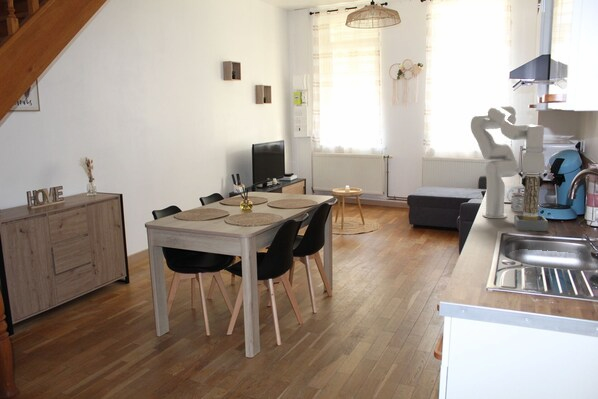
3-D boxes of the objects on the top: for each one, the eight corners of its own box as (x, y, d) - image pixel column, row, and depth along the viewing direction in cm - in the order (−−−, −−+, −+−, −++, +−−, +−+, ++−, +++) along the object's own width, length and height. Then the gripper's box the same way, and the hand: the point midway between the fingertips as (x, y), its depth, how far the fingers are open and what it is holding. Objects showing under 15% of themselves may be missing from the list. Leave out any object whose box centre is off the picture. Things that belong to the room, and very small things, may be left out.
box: (513, 224, 257) (514, 214, 256) (542, 225, 253) (543, 215, 252) (517, 230, 244) (517, 220, 244) (547, 231, 240) (547, 221, 239)
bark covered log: (538, 225, 245) (542, 175, 240) (524, 224, 246) (527, 175, 242) (535, 222, 251) (538, 173, 247) (521, 221, 252) (523, 173, 248)
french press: (530, 211, 290) (532, 168, 285) (510, 211, 290) (512, 169, 286) (522, 208, 299) (524, 167, 295) (503, 208, 300) (505, 167, 295)
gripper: (552, 149, 243) (549, 185, 246) (514, 149, 248) (512, 184, 251) (555, 151, 236) (552, 187, 239) (515, 151, 241) (514, 186, 244)
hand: (532, 185), depth 245 cm, fingers closed on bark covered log, 6 cm apart
